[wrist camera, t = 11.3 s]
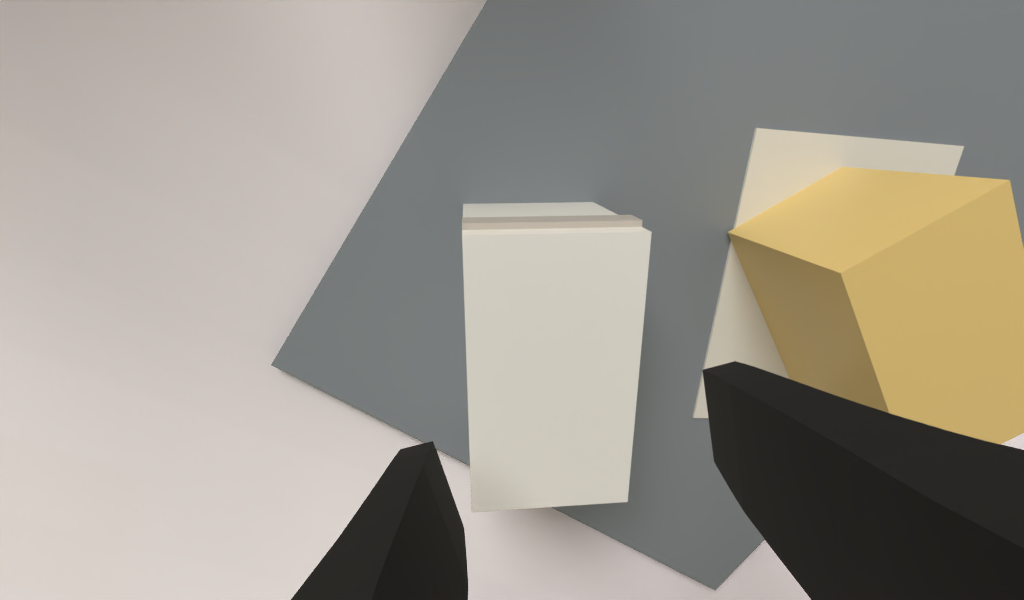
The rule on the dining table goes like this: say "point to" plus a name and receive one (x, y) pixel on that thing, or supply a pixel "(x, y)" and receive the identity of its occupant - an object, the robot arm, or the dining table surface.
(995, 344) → the ochre brick
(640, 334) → the cream brick
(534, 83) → the baseplate
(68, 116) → the dining table surface
